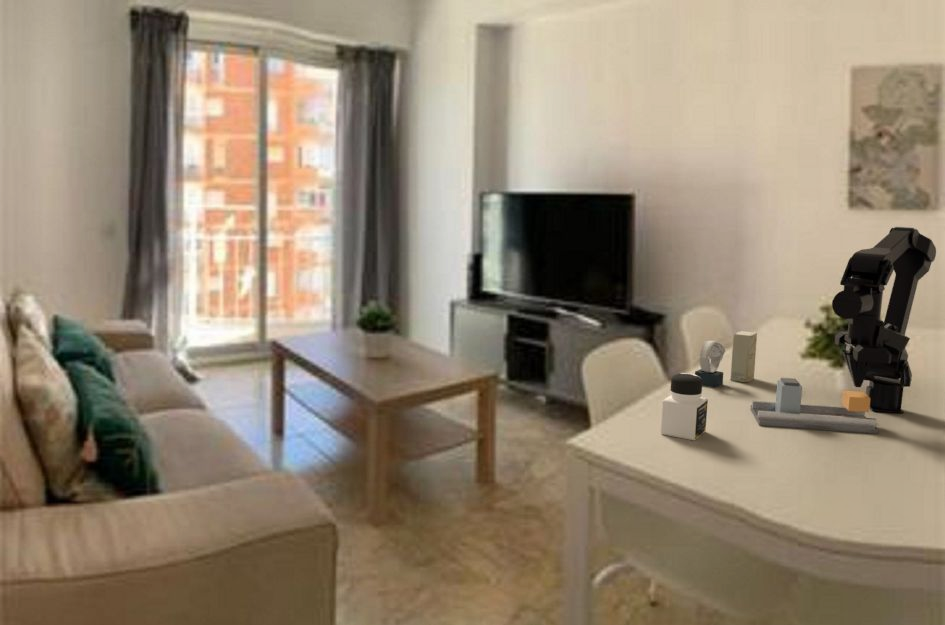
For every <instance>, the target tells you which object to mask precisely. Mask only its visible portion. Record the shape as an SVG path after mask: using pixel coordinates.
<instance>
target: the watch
mask: <svg viewBox="0 0 945 625" xmlns="http://www.w3.org/2000/svg"><path fill="white" fill-rule="evenodd" d="M725 353H726V349H725V346H724V345H723V344H722V343H721V342H719V341H717V340H705V341H704V342H703V344H702V346H701V349H700V356H699V364H700V365H699V367H700V369H697V370H695V371H694V375H697V376H699V377H701V378H702V380H703V381H702V386H705V387H709V388H713V389H714V388H718V387H720V386H722V385H723V383H724V372H723V371H718V368H719V367H720V363H721V362H722V360H723V357H724V354H725Z"/></svg>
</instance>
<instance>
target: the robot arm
mask: <svg viewBox="0 0 945 625" xmlns="http://www.w3.org/2000/svg"><path fill="white" fill-rule="evenodd" d="M936 255H937V248H936V245H935V244H934V242H933V240H932V239H931V238H930V237H928V236H926V235H923V233H922V234H921V233H920V231H919V230H918V229H917V228H914V227H909V226H908V227H903V226H895V227H891V228H890V230H889V232H888V234H887V235H886V236H885V237H883V238H882V239H881V240H880V241H879V242H877V244H875V245H874V246H873V247H871V248H863V249H860V250H858V251H856V252H854V253H853V254H852V256H851V257H850V258H849V259H848V261H847V264H846V267H845V269H844V272H843V275H842V277H841V280H840V286H843V290H841V291H839V292H837V294H835V296H834V297H833V299H832V302H831V308H832V310H833V313H835V314H836V315H837V316H838V317H839V318H840V319H841V318H842V319H845V320H846V321H847V323H848V329H847V331H845V330H843V331H842V330H841V331H840V330H839V331H838V332H837V333H836V334H835V336H834V337H835V338H834V345H837V346H839V347H840V346H842V345H845V346H846V347H845V350H844V349H843V350H841V353H842V355H843V358H844V361H845V363H846V366H847V369H848V372H849V374H850V377H851V380H852V383H853V386H854V387H855V388H861V387H862V385H863V383H864V381H869V385H867V386H866V388H865V389H866V390H865V394H866V395H868V396H869V397H870V408H869V410H871V411H872V412H883V413H895V414H896V413H897V414H904V413H905V412H904V409H902V404H903V396H904V388H906V387H908V388H910V387H911V386H912V385H911V384H912V376H913V375H912V374H913V373H912V370H911V368H910V364H909V360H908V358H909V353H908V352H907V349H906V348H907V345H908V343H909V342H910V340H911V338H910V337H909V336H907V335H906V331H907V327H908V324H909V319H910V316H911V312H912V308H913V303H914V299H915V295H916V291H917V287H918V283H919V280H921V279H922V278H923V277H924V276H925V275H927V274H928V272H930V270H931V265H932V263H933V262H934V261H935V259H936ZM893 272H894V274H895V275H894V276H895V277H894V280H893V283H892V285H893V286H892V289H891V293H890V297H889V300H888V305H887V309H886V313H885V316H884V320H882V319H881V315H882V305H883V294H884V291H885V289H886V288H885V286H887V285H888V283H889V281H890V279H891V276H892V275H893Z"/></svg>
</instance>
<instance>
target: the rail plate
mask: <svg viewBox="0 0 945 625" xmlns="http://www.w3.org/2000/svg"><path fill="white" fill-rule="evenodd" d="M775 405H776V401H767V400H766V401H763V400H752V403H751V404H750V411H751V413H752V415H753V416H754V419H755V421H756V422H757V424H758V426H759V427H761V426H762V427H773V428H776V427H777V428H786V429H787V428H790V429H801V430H802V429H805V430H816V431H817V430H818V431H832V432H843V433H844V432H845V433H860V434H870V435H871V434H874V435H878V433H879V429H878V427H877V419H876V418H870V417H866V416H865V414H866V412H859V411H848V410H847V409H846V408H845V407H844V406H838V405H824V404H807V403H801V407H800V413H786V412H775ZM760 425H761V426H760Z"/></svg>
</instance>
